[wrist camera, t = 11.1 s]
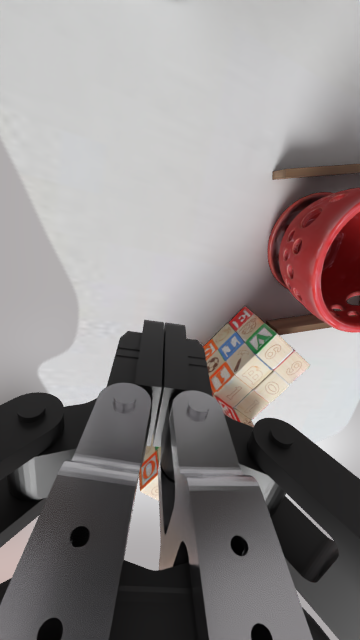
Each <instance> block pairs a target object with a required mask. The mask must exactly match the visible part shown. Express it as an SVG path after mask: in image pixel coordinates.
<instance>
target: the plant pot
mask: <svg viewBox="0 0 360 640" xmlns="http://www.w3.org/2000/svg"><path fill="white" fill-rule="evenodd" d="M268 262H269V266H270V269H271V271H272V274H273V275H274V277H275V278H276V280H277V281H278V282H279V283H280V284H281V285H282V286H284V287H285V288H287V289H289V291H290V292H291V293H292V295H293V296H294V297H295V298H296V299H297V300H298V301H299V302H300V303H302V305H303V306H304V307H305V308H306V309H307V310H308V311H310V312H311V313H312V314H313V315H315V316H316V317H317V318H319V319H320V320H322V321H323V322H325V323H327V324H328V325H330V326H332V327H333V328H335V329H338V330H341V331H345V332H360V305H350V304H348V303H347V300H348V299H349V298H350V297H353V296H356V295H360V188H353V189H348V190H344V191H340V192H336V193H330V192H319V193H314V194H310V195H308V196H305V197H303V198H301V199H299V200H298V201H296V202H294V203H293V204H292V205H291V206H289V207H288V208H287V209H286V210H285V211H284V212H283V213H282V215H281V216H280V217H279V219H278V220H277V222H276V224H275V225H274V227H273V230H272V232H271V235H270V238H269V243H268ZM332 309H340V310H342V311H334V310H332ZM349 315H356V316H349Z"/></svg>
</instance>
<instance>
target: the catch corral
mask: <svg viewBox="0 0 360 640" xmlns="http://www.w3.org/2000/svg"><path fill="white" fill-rule="evenodd" d="M354 173H360V164H349V165H335V166H321V167H307V168H293V169H284V170H279V171H274V172H273V175H272V180H275V179H288V178H301V177H314V176H328V175H341V174H354ZM359 305H360V302H359ZM338 311H342V310H338ZM349 316H356V315H349ZM267 325H268V326H269V327H270V328H271V329H273V330H274V331H275V332H276V333H277V334H278V335H283V334H290V333H296V332H303V331H310V330H316V329H323V328H330V327H332V326H330V325H328V324H327V323H325V322H323V321H322V320H320V319H319V318H317V317H316V316H315V315H313V314H310V315H303V316H296V317H289V318H282V319H275V320H268V321H267Z"/></svg>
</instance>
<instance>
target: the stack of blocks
mask: <svg viewBox="0 0 360 640" xmlns="http://www.w3.org/2000/svg"><path fill="white" fill-rule="evenodd" d="M203 348H204V351H205V356H206V362H207V368H208V373H209V379H210V384H211V390H212V395H213V398H215V399H216V400H217V401H218V402H219V404H220V405H221V407H222V409H223V413H224V414H225V415H227V416H228V417H230V418H232V419H234V420H236V421H238V422H241V423H244V424H246V425H249V426H252V427H254V425H253V423H252V421H251V420H252V419H254V418H255V417H256V416H257V415H258V414H259V413H260V412H261V411H262V410H263V409H264V408H265V407H266V406H267V405H268V404H269V403H271V402H273V401H274V400H275V399H276V398H277V397H278V396H279V395H280V394H281V393H282V392H283V391H285V390H286V389H287V388H288V387H289V386H290V384H291V383H292V382H293V381H295V380H296V379H297V378H298V377H299V376H300V375H301V374H302V373H303V372H304V371H305V370H306V369H308V368H309V367H310V365H309V364H308V363H307V362H306V361H305V360H304V359H303V358H302V357H301V356H300V355H299V354H298V353H297V352H296V351H295V350H294V349H293V348H292V347H291V346H290V345H288V344H287V343H286V342H285V341H284V340H283V339H282V338H281V337H280V336H279V335H278V334H277V333H276V332H275V331H274V330H273V329H271V328H270V327H269V326H268V325H267V324H266V323H264V322H263V321H262V320H261V319H260V318H259V317H258V316H256V315H255V314H254V313H253V312H252V311H251V310H250V309H248V308H247V307H246V306H244V307H243V308H242V309H241V310H240V312H239V313H238V314H237V315H236V316H235V317H234V318H233V319H232V320H231V321H230V322H229V323H227V324H226V325H225V326H224V327H223V328H222V329H221V330H220V331H219V332H218V333H217V334H216V335H215V336H214V337H213V338H212V339H211V340H210V341H209V342H208V343H207V344H206V345H205V346H204V347H203ZM153 435H154V431H153ZM160 458H161V447H155V446H153V436H152V442H151V446H146V451H145V456H144V462H143V464H142V466H141V468H140V472H139V480H140V491H141V492H142V493H144V494H146V495H148V496H150V497H152V498H154V499H156V500H158V501H159V489H158V467H159V463H160Z"/></svg>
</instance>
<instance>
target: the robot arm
mask: <svg viewBox="0 0 360 640" xmlns="http://www.w3.org/2000/svg"><path fill="white" fill-rule="evenodd" d="M153 431H154V435H153ZM152 436H153V446H155V447H161V458H160V463H159V467H158V489H159V513H160V536H161V546H160V559H159V570H158V571H153V570H149V569H146V568H144V567H141V566H138V565H136V564H133V563H130V562H128V561H125V560H124V556H125V550H126V545H127V539H128V533H129V528H130V522H131V517H132V511H133V505H134V500H135V494H136V489H137V483H138V477H139V472H140V468H141V466H142V464H143V462H144V456H145V451H146V446H151V442H152ZM286 493H287V494H288V495H289V496H290V497H291V498H292V499H293V500H294V501H295V502H296V503H297V504H298V505H299V506H300V507H301V508H303V510H304V511H305V512H307V514H309V515H310V516H311V517H312V518H313V519H314V520H315V521H316V522H317V523H318V524H319V525H320V526H321V527H322V528H323V529H324V530H325V531H326V532H327V533H328V534H329V535H330V536H331V537H332V538H333V540H334V541H333V540H331V539H329V538H328V537H327V536H326V535H324V534H323V533H322V532H321V531H320V530H319V529H318V528H317V527H316V526H315V525H314V524H313V523H312V522H311V521H310V520H309V519H308V518H307V517H306V516H305V515H304V514H303V513H302V512H301V511H300V510H299V509H298V508H297V507H296V506H294V504H293V503H292V502H291V501H289V499H287V497H285V495H286ZM37 516H39V517H38V520H37V522H36V524H35V527H34V529H33V531H32V533H31V536H30V538H29V541H28V543H27V545H26V547H25V549H24V552H23V554H22V556H21V559H20V561H19V563H18V565H17V568H16V570H15V572H14V574H13V577H12V578H11V579H9V580H7V581H5V582H3V583H1V584H0V640H330V639H329V638H328V636H327V635H326V634H325V633H324V631H323V630H322V629H321V628H320V626H319V625H318V624H317V623H316V622H315V620H314V619H313V618H312V617H311V616H310V615H309V614H308V613H307V612H306V611H305V610H304V609H303V608H302V607H301V604H300V601H299V598H298V595H297V592H296V590H297V591H298V592H299V593H300V594H301V595H302V597H303V598H304V599H305V600H306V601H307V602H308V604H309V605H310V606H311V607H312V608H313V610H314V611H315V612H316V613H317V614H318V615H319V617H321V619H322V620H323V621H324V622H325V624H326V625H327V626H328V627H329V628H330V629H331V631H332V632H333V633H334V634H335V635H336V636H337V638H338V639H339V640H360V479H359V478H357V477H356V476H355V475H353V474H352V473H351V472H350V471H348V470H347V469H346V468H345V467H344V466H342V465H341V464H340V463H338V462H337V461H336V460H335V459H333V458H332V457H331V456H330V455H328V454H327V453H326V452H325V451H323V450H322V449H321V448H320V447H318V446H317V445H316V444H314V443H313V442H312V441H311V440H309V439H308V438H307V437H306V436H304V435H303V434H302V433H301V432H299V431H298V430H297V429H296V428H294V427H293V426H291V425H290V424H288V423H286V422H284V421H282V420H279V419H275V418H264V419H261V420H259V421H258V422H257V423H256V424H255V425H254V427H252V426H249V425H246V424H244V423H241V422H238V421H236V420H234V419H232V418H230V417H228V416H227V415H225V414H224V413H223V409H222V407H221V405H220V404H219V402H218V401H217V400H216V399H215V398H213V395H212V390H211V384H210V379H209V373H208V368H207V362H206V356H205V351H204V348H203V347H202V346H201V344H200V343H199V342H198V341H197V340H192V339H186V331H185V325H179V324H172V323H165V326H164V322H157V321H149V320H144V326H143V333H138V332H131V331H128V332H127V333H125V334H124V335H123V336H122V337H121V338H120V340H119V344H118V348H117V351H116V355H115V359H114V362H113V366H112V370H111V373H110V377H109V381H108V384H107V387H106V388H105V389H103V390H102V391H101V393H100V394H99V396H98V398H96V399H95V400H93V401H90V402H88V403H85V404H80V405H73V406H66V407H63V404H62V402H61V401H60V400H59V399H58V398H57V397H55V396H53V395H51V394H47V393H29V394H25V395H21V396H19V397H17V398H14V399H13V400H10V401H8V402H6V403H4V404H2V405H0V547H2V546H3V545H4V544H5V543H6V542H7V541H9V540H10V539H11V538H12V537H14V535H16V534H17V533H18V532H19V531H20V530H22V529H23V528H24V527H25V526H27V525H28V524H29V523H30V522H31V521H33V520H34V519H35V518H36V517H37ZM295 588H296V589H295Z"/></svg>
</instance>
